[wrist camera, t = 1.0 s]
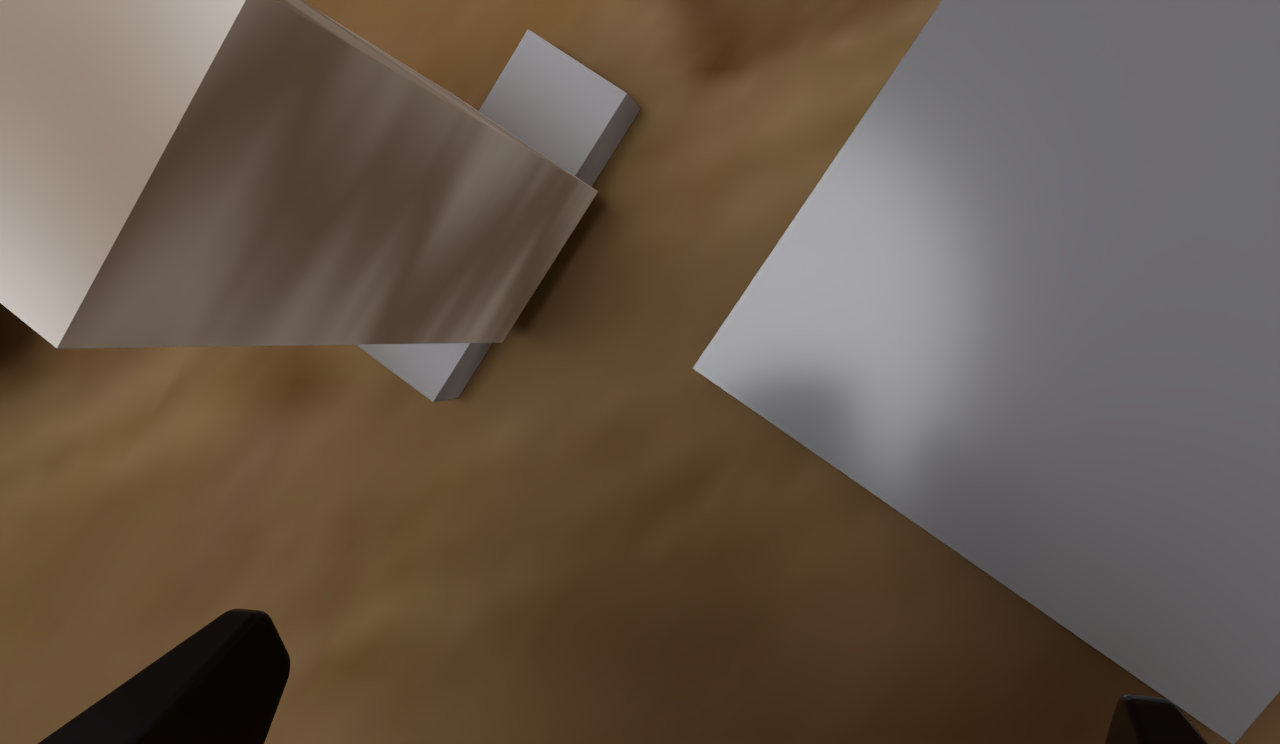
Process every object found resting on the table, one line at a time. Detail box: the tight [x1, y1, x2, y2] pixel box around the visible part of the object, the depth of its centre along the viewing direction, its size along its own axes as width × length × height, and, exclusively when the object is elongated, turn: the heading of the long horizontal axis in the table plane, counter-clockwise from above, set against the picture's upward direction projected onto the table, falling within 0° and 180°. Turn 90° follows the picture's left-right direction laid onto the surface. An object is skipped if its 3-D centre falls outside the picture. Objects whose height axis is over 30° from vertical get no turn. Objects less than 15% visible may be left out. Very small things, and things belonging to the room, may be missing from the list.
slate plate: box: [693, 0, 1280, 744], centre depth 20 cm, size 14×14×2 cm
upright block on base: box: [0, 0, 641, 402], centre depth 17 cm, size 9×4×14 cm, turn 146°
